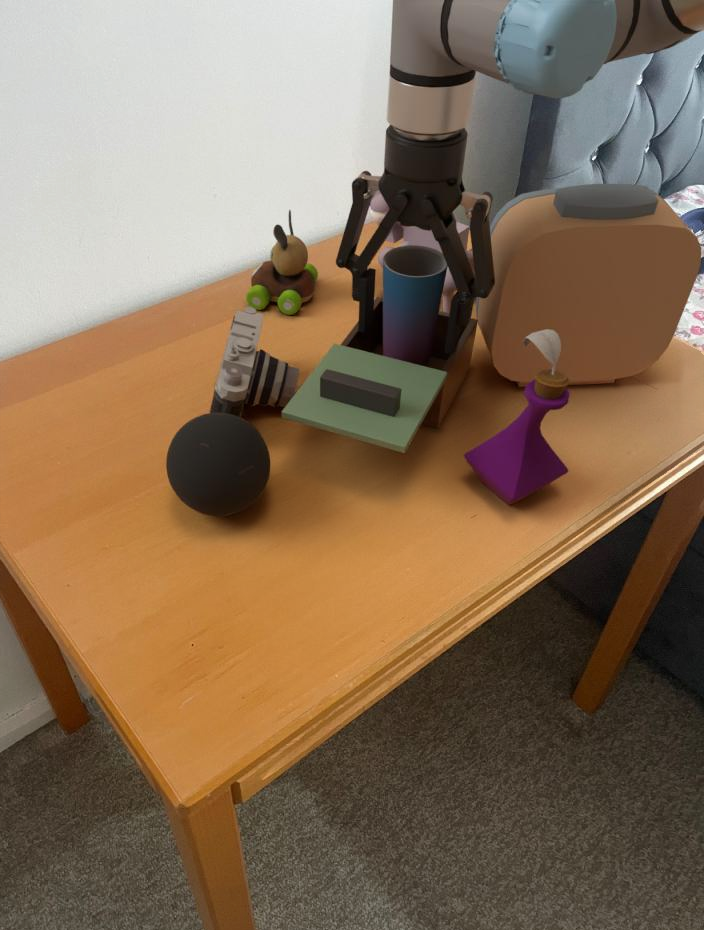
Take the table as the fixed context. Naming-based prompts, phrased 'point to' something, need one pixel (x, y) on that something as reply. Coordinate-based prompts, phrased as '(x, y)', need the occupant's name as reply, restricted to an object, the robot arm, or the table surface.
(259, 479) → the speaker
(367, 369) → the sliding lid
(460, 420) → the table surface
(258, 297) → the toy car
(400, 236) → the pink legged piece
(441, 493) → the table surface
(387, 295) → the cup
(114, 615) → the table surface
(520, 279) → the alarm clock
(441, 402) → the walnut box
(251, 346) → the camera
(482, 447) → the perfume bottle
